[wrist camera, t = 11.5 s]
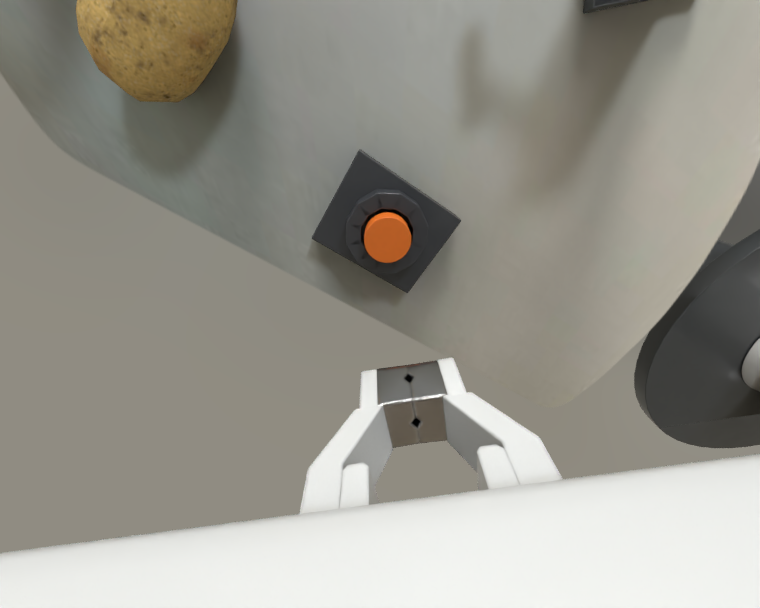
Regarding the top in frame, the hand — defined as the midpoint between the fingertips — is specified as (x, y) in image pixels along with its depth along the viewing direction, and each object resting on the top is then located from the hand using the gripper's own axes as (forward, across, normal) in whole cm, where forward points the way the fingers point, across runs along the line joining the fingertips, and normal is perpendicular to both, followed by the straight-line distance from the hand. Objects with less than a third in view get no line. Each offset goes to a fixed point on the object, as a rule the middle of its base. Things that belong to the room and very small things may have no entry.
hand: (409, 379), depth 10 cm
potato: (+21, +11, -16) cm, 29 cm away
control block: (+21, 0, 0) cm, 21 cm away
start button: (+17, 0, 0) cm, 17 cm away
